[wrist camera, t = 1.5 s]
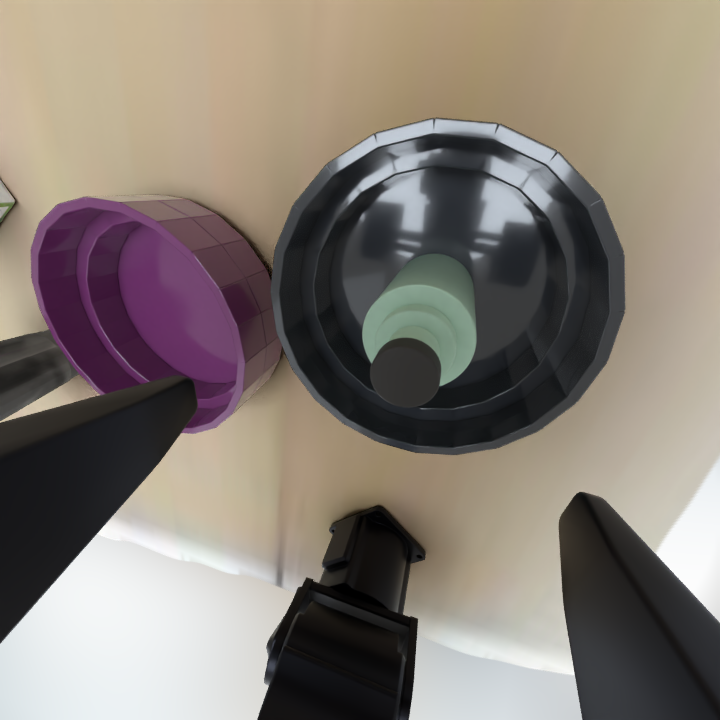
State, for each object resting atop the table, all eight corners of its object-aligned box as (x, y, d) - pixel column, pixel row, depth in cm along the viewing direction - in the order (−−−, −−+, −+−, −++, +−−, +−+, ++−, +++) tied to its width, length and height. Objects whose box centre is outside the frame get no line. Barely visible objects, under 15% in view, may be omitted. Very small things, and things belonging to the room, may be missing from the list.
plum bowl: (330, 327, 22) (294, 362, 17) (218, 420, 29) (173, 462, 25) (162, 136, 19) (71, 122, 15) (85, 291, 27) (9, 312, 22)
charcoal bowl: (643, 315, 17) (707, 362, 12) (411, 433, 24) (398, 489, 19) (469, 51, 14) (469, -11, 10) (269, 273, 21) (217, 295, 17)
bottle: (491, 301, 18) (510, 398, 10) (424, 345, 20) (394, 453, 12) (440, 235, 17) (415, 279, 9) (377, 288, 19) (310, 362, 11)
